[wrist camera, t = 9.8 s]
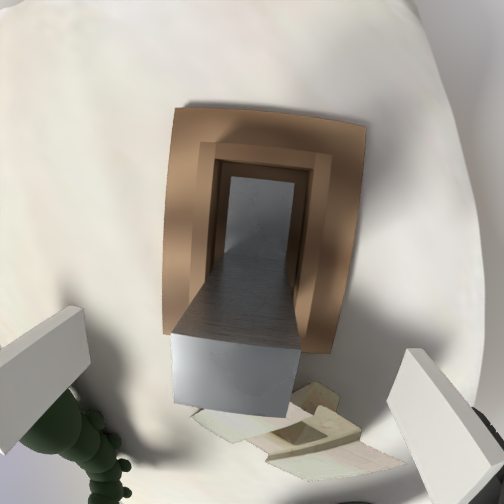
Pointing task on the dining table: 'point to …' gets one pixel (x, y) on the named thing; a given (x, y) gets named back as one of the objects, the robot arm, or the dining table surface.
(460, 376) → the dining table surface
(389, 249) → the dining table surface
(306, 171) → the brown wooden flat frame
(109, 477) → the toy figurine
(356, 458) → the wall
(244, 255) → the bracket
